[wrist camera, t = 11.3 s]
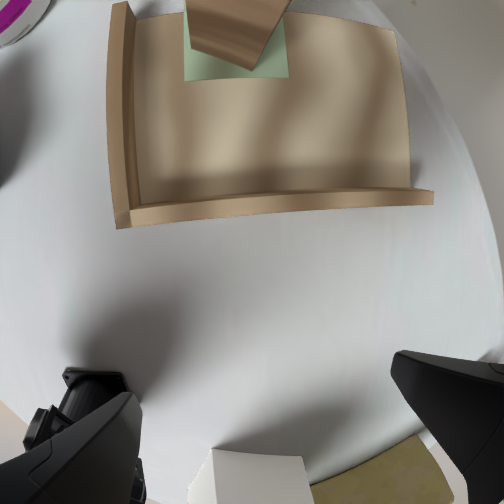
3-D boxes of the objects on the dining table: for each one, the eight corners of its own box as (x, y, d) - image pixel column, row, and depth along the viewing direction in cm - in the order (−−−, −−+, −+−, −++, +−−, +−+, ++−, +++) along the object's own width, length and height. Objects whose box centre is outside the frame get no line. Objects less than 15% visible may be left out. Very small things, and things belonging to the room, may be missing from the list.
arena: (130, 219, 19) (116, 229, 16) (125, 14, 14) (113, -7, 11) (407, 198, 22) (433, 204, 18) (389, 23, 17) (410, 10, 14)
